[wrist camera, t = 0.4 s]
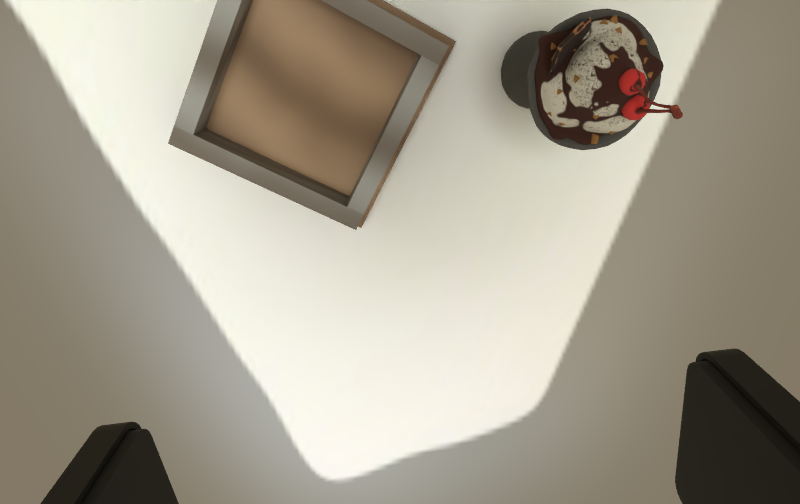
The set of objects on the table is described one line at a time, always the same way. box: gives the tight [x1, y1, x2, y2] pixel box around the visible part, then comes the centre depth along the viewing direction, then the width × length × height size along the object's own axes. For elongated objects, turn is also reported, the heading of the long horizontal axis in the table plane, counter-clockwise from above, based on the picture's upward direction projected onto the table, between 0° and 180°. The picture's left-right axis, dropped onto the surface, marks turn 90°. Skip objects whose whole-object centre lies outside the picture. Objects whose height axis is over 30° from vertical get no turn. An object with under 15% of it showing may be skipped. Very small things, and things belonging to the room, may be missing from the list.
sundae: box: [501, 9, 683, 150], centre depth 28 cm, size 7×7×15 cm
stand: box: [168, 0, 456, 230], centre depth 33 cm, size 14×14×4 cm
